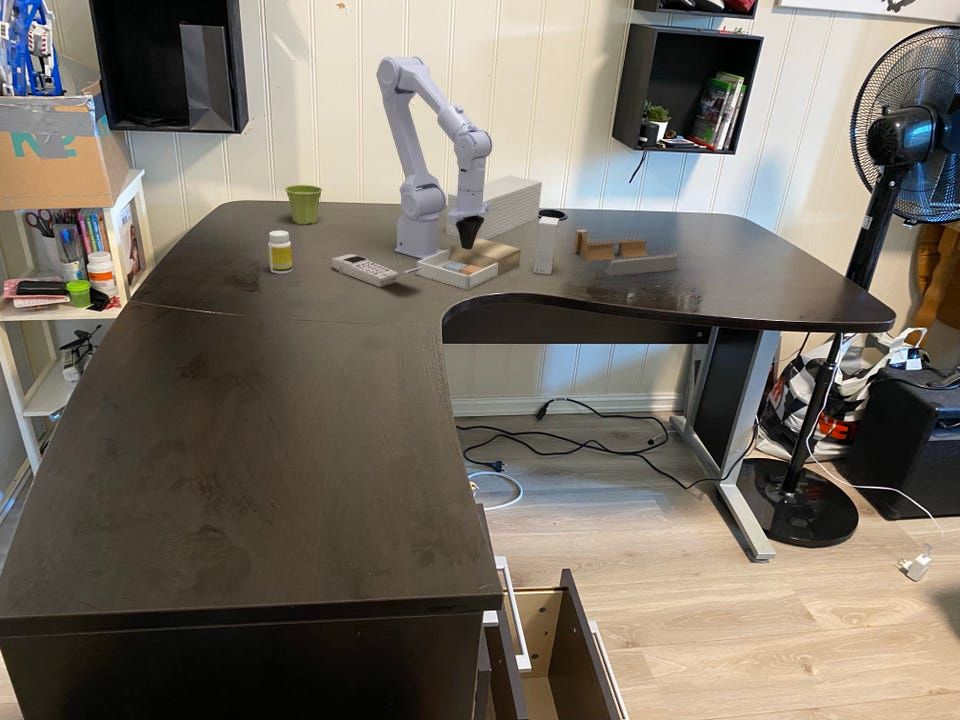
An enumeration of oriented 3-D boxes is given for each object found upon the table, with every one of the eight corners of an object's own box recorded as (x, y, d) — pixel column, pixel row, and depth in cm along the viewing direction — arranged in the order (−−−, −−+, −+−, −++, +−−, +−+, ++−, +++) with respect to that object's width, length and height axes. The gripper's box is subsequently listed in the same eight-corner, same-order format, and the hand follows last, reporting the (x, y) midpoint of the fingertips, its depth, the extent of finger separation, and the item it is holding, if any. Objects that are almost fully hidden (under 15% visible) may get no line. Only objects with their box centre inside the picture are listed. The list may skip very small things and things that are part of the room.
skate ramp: (602, 288, 160) (607, 256, 156) (530, 241, 188) (533, 213, 184) (704, 277, 171) (710, 247, 168) (621, 234, 199) (626, 208, 196)
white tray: (415, 274, 157) (416, 261, 156) (446, 261, 166) (447, 249, 165) (468, 290, 151) (468, 277, 149) (497, 275, 160) (498, 263, 158)
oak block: (450, 262, 166) (451, 246, 164) (473, 252, 173) (474, 237, 172) (497, 275, 160) (498, 259, 158) (519, 265, 167) (520, 248, 166)
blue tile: (452, 261, 159) (452, 269, 160) (443, 265, 156) (442, 274, 157) (467, 264, 158) (467, 273, 159) (458, 269, 154) (457, 278, 155)
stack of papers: (506, 211, 211) (509, 175, 206) (538, 218, 206) (542, 181, 201) (446, 234, 186) (448, 193, 182) (480, 243, 182) (483, 201, 177)
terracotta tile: (470, 264, 158) (469, 273, 159) (460, 269, 155) (460, 277, 156) (485, 268, 156) (484, 277, 157) (475, 273, 153) (475, 282, 154)
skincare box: (551, 275, 163) (557, 224, 157) (532, 273, 163) (538, 222, 158) (553, 267, 168) (559, 218, 162) (536, 265, 169) (541, 215, 163)
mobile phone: (405, 272, 142) (323, 241, 155) (404, 299, 144) (323, 267, 158) (425, 266, 146) (343, 236, 159) (424, 292, 149) (343, 261, 162)
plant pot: (294, 215, 192) (292, 183, 188) (328, 218, 191) (327, 186, 187) (281, 224, 184) (279, 191, 180) (316, 228, 183) (315, 194, 179)
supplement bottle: (296, 271, 154) (295, 234, 150) (278, 275, 151) (275, 237, 147) (284, 265, 157) (282, 228, 153) (265, 269, 154) (262, 232, 150)
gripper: (467, 197, 147) (463, 259, 153) (503, 186, 158) (498, 244, 164) (440, 191, 150) (437, 252, 156) (476, 180, 161) (473, 238, 168)
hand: (467, 248), depth 161 cm, fingers closed
